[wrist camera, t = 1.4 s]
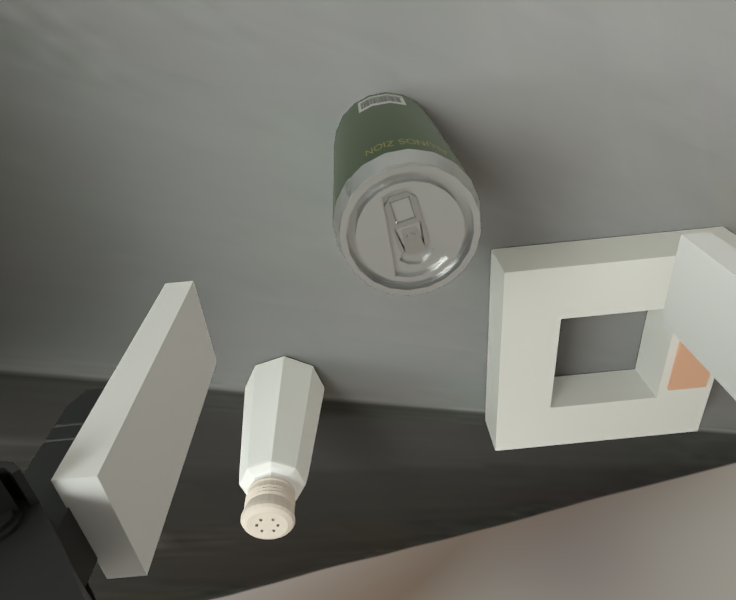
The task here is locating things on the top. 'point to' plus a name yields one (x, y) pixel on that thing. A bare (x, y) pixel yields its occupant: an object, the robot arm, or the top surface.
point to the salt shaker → (277, 443)
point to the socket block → (581, 299)
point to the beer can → (401, 198)
